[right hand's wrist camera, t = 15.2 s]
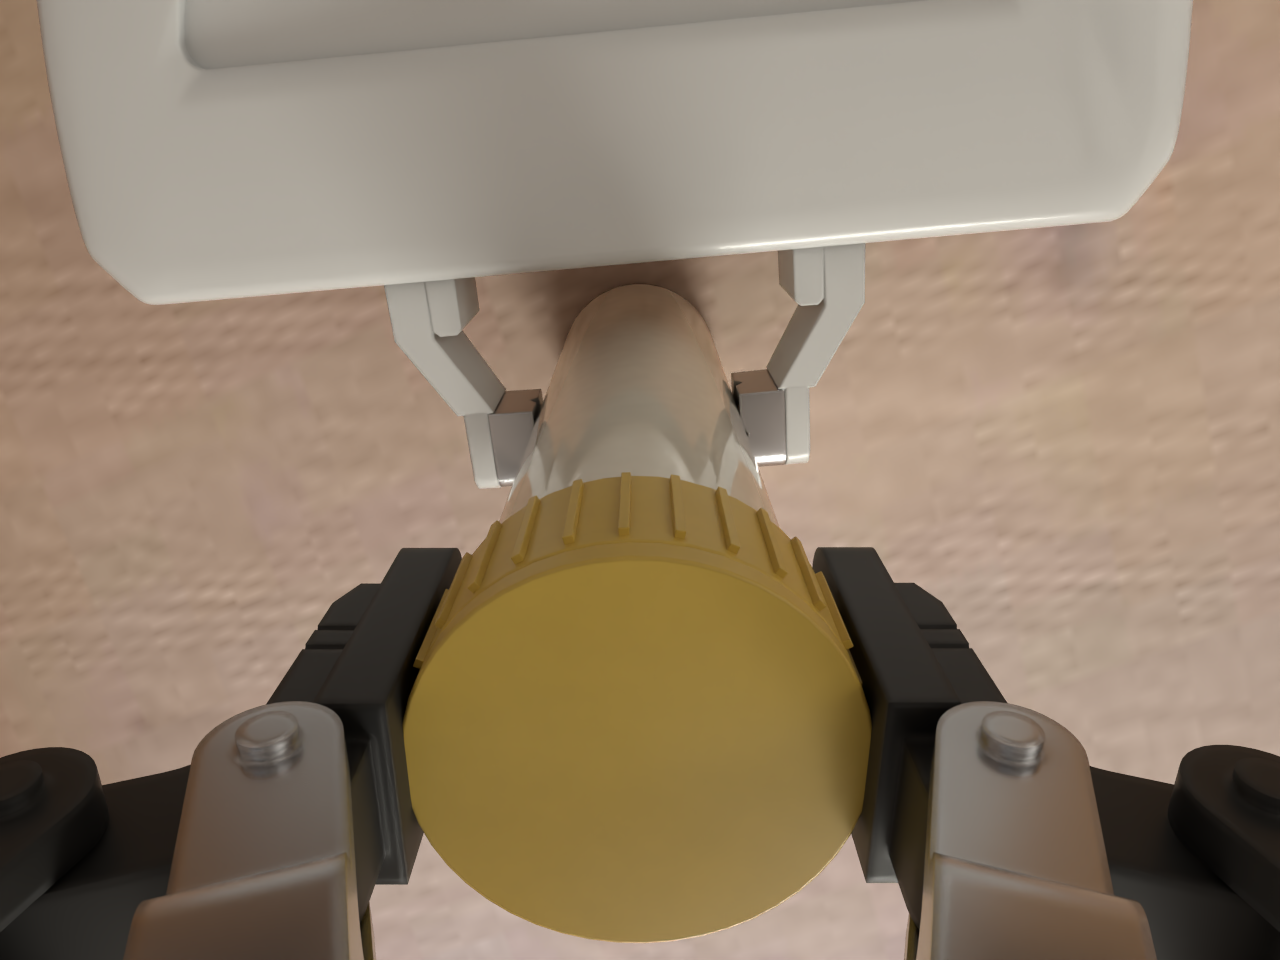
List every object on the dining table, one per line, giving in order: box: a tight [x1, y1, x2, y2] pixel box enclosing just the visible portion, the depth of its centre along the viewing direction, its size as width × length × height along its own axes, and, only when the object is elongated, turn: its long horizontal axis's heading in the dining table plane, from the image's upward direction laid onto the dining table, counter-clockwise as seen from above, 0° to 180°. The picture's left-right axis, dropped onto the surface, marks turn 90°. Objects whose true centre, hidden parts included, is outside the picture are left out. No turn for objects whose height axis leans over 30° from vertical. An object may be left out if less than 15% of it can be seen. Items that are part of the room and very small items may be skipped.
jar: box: [499, 284, 780, 528], centre depth 17 cm, size 4×4×17 cm
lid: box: [403, 472, 872, 943], centre depth 10 cm, size 5×5×2 cm
